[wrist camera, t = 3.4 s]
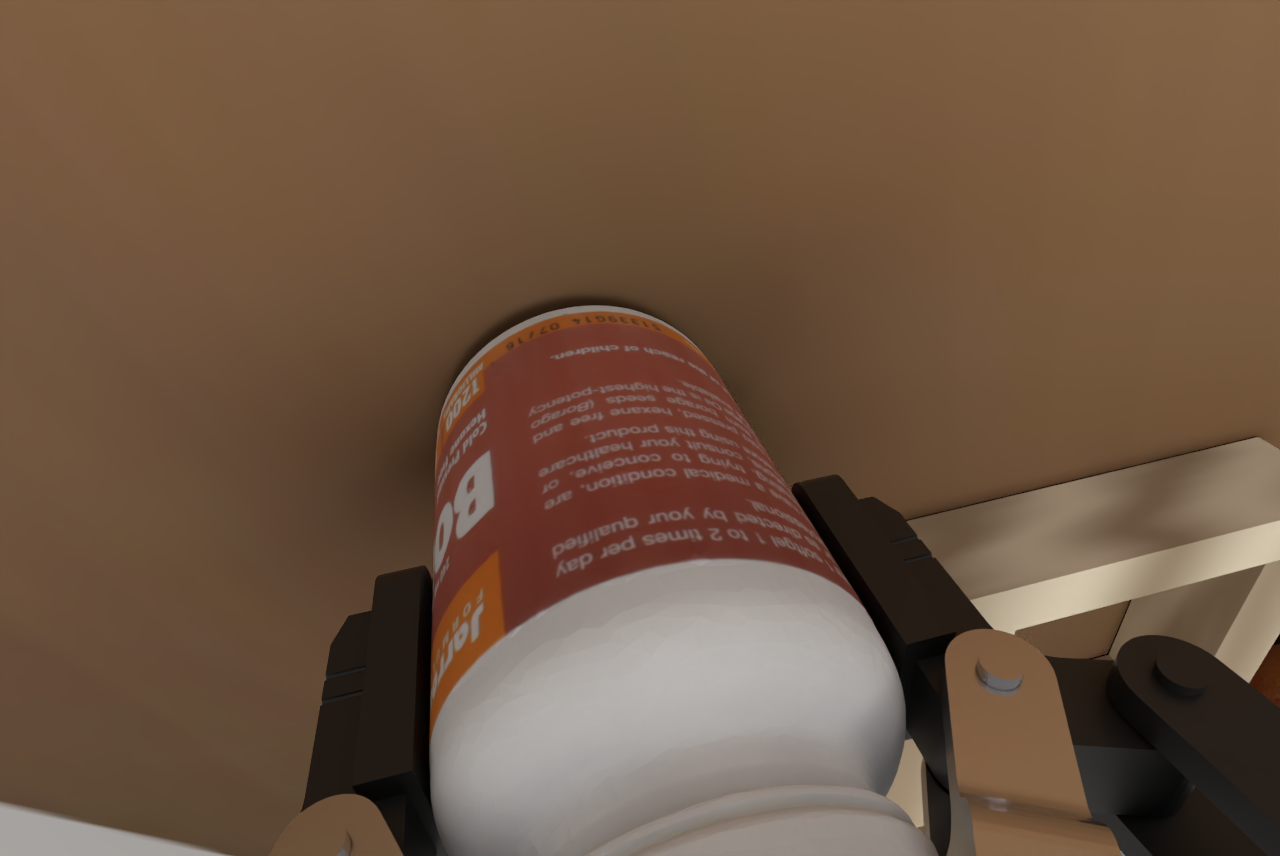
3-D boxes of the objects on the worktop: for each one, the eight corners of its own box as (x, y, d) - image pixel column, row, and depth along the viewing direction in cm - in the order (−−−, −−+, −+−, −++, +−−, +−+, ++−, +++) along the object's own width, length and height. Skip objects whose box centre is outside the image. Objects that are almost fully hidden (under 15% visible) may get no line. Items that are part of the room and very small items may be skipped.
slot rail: (1258, 436, 22) (1362, 498, 19) (1147, 669, 28) (1214, 738, 25) (450, 630, 18) (451, 734, 16) (529, 842, 25) (538, 941, 22)
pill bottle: (412, 308, 13) (334, 1041, 4) (728, 281, 15) (1188, 821, 5) (458, 555, 17) (468, 1254, 8) (711, 518, 18) (977, 1091, 9)
